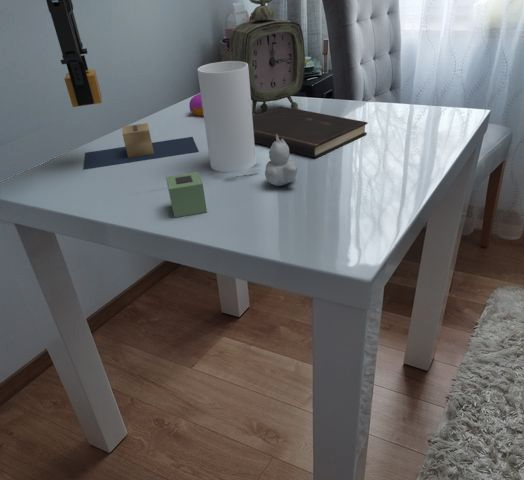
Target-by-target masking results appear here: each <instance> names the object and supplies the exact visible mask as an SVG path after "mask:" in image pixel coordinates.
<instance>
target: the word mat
mask: <svg viewBox="0 0 524 480" xmlns="http://www.w3.org/2000/svg"><path fill="white" fill-rule="evenodd" d="M152 146H153V151H154V154H152V155H145V156H139V157H132V158H128V155H127V151H126V147H125V146H121V147H113V148H108V149H101V150H94V151H93V150H92V151H88V152H84V157H83V167H82V170H83V171H85V170H90V169H91V170H92V169H98V168H104V167H111V166H117V165H124V164H130V163H136V162H143V161H149V160H155V159H157V160H158V159H161V158H168V157H170V158H171V157H177V156H182V155H188V154H194V153H195V154H196V153H200V151H199V148H198V146H197V143H196V141H195V139H194V137H193V136H188V137H181V138H174V139H168V140H161V141H154V142H153V141H152Z"/></svg>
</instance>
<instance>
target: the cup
mask: <svg viewBox="0 0 524 480" xmlns="http://www.w3.org/2000/svg"><path fill="white" fill-rule="evenodd" d="M197 78H198V85H199V92H200V93H201V100H202V107H203V114H204V116H203V122H204V128H205V135H206V142H207V143H206V144H207V149H208V157H209V164H210V168H211V169H212V170H213V171H216V172H220V173H236V172H242V171H245V170H249V169H251V168H252V167H254V166H255V165H256V163H257V157H256V147H255V146H256V145H255V144H256V143H254V131H253V119H252V112H253V105H252V100H251V94H250V81H249V69H248V64H247V63H245V62H239V61H230V60H226V61H216V62H211V63H207V64H203V65H201V66H199V67H197ZM200 93H199V94H200Z"/></svg>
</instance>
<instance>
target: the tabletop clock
mask: <svg viewBox="0 0 524 480" xmlns="http://www.w3.org/2000/svg"><path fill="white" fill-rule="evenodd" d="M249 1H250V3H253V4H254V5H258V6H256V7H255V8H254V9H253V11H252V14H251V18H250V21H246V22H241V23H240V24H237V25H236V26H234V27H233V28H232V29H231V31H230V35H229V45H228V49H229V50H228V51H229V52H228V53H229V61H239V62H245V63H247V64H248V69H249V81H250V94H251V104H252V117H253V116H255V115H258V114H257V112H256V108H257V103H261V105H260V110H261V111H263V112H266V111H268V107H269V106H268V104H267V103H269V102H275V101H280V100H284V99H286V98H287V100H288V101H289V103H290V108H293V109H298V108H299V105H298V102H296V101H294V100H293V99H292V97H293V96H295V95H296V94H297V93H299V92H300V91H302V89H303V85H304V80H305V68H306V67H305V66H306V65H305V64H306V52H305V51H306V50H305V40H304V39H305V38H304V34H303V29H302V27H301V24H300V23H298V22H295V21H291V20H284V19H278V18H277V15H276V12H275V10H274V9H273V7H272V6H270V5H266V4H269V3H271V2H272V1H273V0H249Z"/></svg>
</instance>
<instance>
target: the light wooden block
mask: <svg viewBox="0 0 524 480" xmlns="http://www.w3.org/2000/svg"><path fill="white" fill-rule="evenodd" d="M121 132H122V138H123V142H124V147H126V151H127V155H128V158H132V157H139V156H145V155H152V154H154V151H153V146H152V143H153V141H152V138H151V137H152V136H151V132H150V127H149V123H148V122H145V123H137V124H131V125H123V126H121Z"/></svg>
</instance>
